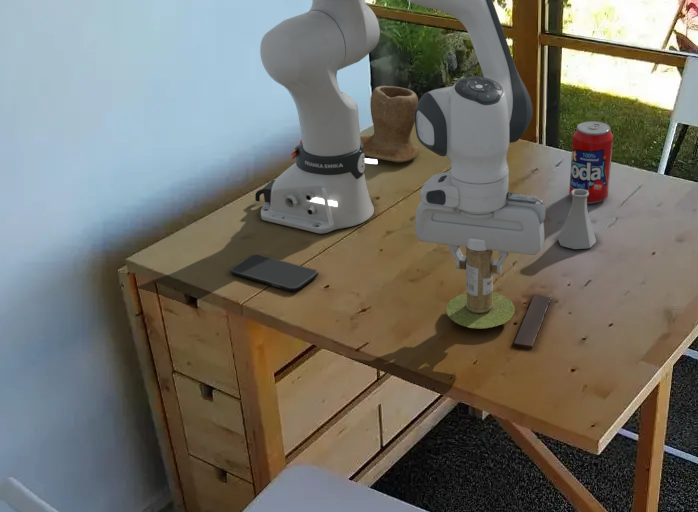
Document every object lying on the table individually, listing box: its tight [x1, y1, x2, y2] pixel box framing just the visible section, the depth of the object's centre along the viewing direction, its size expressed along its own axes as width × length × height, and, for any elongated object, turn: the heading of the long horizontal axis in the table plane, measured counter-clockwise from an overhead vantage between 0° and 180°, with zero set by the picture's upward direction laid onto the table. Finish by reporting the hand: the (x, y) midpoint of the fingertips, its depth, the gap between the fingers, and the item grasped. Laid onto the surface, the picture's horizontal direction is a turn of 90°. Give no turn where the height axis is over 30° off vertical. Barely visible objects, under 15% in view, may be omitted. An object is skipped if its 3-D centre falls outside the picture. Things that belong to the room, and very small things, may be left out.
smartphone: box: [230, 253, 319, 292], centre depth 167 cm, size 7×1×15 cm
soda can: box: [568, 120, 614, 205], centre depth 186 cm, size 8×8×15 cm
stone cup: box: [360, 85, 420, 164], centre depth 205 cm, size 15×12×15 cm
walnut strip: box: [513, 295, 552, 350], centre depth 153 cm, size 3×15×1 cm, turn 164°
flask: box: [557, 189, 597, 250], centre depth 172 cm, size 7×7×10 cm
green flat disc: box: [445, 291, 516, 330], centre depth 154 cm, size 11×11×2 cm
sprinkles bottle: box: [465, 239, 494, 313], centre depth 150 cm, size 5×5×13 cm
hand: (479, 269), depth 149 cm, fingers closed on sprinkles bottle, 4 cm apart
